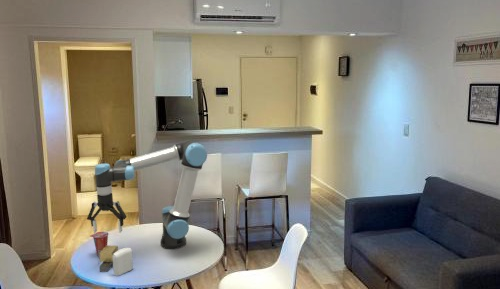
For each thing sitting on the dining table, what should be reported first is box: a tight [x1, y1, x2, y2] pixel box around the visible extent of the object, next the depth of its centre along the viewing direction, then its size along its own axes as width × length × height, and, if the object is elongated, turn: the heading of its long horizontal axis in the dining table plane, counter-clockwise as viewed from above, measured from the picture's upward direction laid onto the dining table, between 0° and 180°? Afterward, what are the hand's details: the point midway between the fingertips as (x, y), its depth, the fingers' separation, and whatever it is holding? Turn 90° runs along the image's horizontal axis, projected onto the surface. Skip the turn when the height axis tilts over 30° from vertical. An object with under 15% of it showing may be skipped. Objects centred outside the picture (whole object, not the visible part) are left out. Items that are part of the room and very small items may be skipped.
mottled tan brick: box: [99, 245, 119, 263], centre depth 219 cm, size 6×9×8 cm
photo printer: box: [112, 247, 134, 277], centre depth 210 cm, size 10×4×12 cm, turn 140°
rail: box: [98, 262, 113, 273], centre depth 220 cm, size 18×4×3 cm, turn 178°
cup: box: [89, 231, 109, 257], centre depth 230 cm, size 9×8×12 cm
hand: (108, 231), depth 217 cm, fingers open, 13 cm apart
